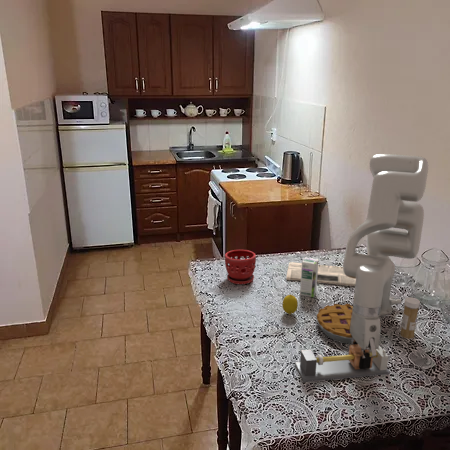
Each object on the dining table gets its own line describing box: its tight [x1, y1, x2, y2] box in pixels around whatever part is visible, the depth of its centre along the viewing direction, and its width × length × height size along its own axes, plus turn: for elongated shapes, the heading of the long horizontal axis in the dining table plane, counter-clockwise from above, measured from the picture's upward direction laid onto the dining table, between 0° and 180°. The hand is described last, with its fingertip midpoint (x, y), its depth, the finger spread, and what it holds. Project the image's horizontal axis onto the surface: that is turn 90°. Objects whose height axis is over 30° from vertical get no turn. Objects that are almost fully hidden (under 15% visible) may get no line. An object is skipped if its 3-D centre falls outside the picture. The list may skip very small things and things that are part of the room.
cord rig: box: [294, 344, 391, 383], centre depth 126 cm, size 26×8×7 cm, turn 98°
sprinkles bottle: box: [399, 296, 421, 340], centre depth 142 cm, size 5×5×13 cm
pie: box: [315, 303, 383, 345], centre depth 147 cm, size 22×22×5 cm
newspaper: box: [286, 261, 356, 287], centre depth 189 cm, size 37×19×3 cm, turn 77°
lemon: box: [281, 294, 299, 315], centre depth 156 cm, size 6×6×8 cm
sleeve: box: [348, 344, 373, 370], centre depth 126 cm, size 5×5×5 cm
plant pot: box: [224, 249, 257, 285], centre depth 182 cm, size 13×13×12 cm
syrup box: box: [299, 256, 320, 298], centre depth 170 cm, size 6×6×14 cm
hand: (359, 361), depth 127 cm, fingers closed on sleeve, 5 cm apart
